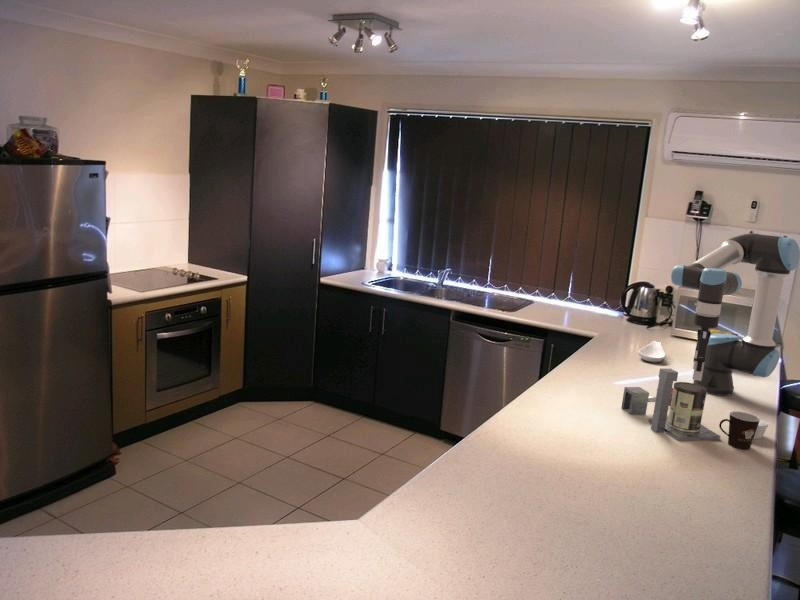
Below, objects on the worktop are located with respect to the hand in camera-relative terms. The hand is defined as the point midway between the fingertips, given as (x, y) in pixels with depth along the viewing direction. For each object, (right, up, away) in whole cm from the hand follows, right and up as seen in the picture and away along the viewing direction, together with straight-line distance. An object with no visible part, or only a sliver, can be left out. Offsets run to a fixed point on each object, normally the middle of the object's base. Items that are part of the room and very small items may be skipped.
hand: (696, 374), depth 227 cm
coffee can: (-7, -17, -5) cm, 19 cm away
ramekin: (+16, -20, -3) cm, 26 cm away
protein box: (+45, -5, +84) cm, 96 cm away
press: (-10, -17, +1) cm, 19 cm away
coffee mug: (+6, -21, -14) cm, 26 cm away
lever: (-10, -14, +12) cm, 21 cm away
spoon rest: (+18, -2, +86) cm, 88 cm away
